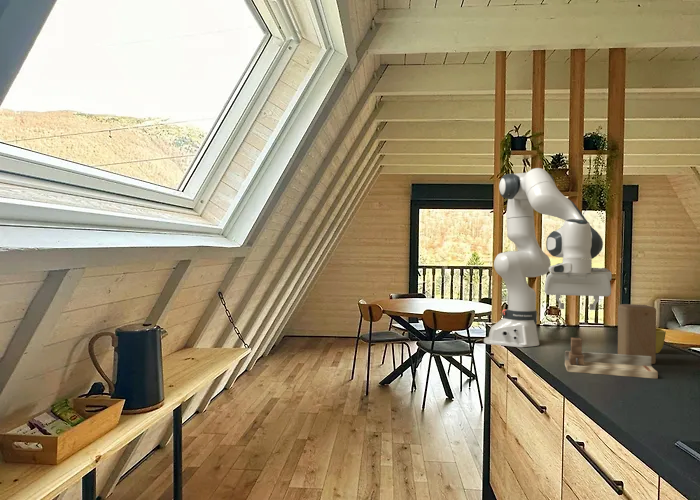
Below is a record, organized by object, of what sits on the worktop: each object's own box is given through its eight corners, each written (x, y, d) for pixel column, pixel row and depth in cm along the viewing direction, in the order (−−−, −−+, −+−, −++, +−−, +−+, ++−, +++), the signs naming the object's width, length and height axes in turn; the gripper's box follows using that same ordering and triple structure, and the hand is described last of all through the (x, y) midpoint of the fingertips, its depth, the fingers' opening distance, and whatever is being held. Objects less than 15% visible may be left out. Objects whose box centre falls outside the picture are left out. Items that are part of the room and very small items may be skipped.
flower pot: (660, 350, 206) (660, 328, 206) (665, 355, 198) (666, 331, 197) (635, 349, 209) (635, 326, 209) (639, 353, 200) (640, 330, 200)
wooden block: (656, 365, 180) (657, 307, 180) (625, 363, 182) (626, 306, 182) (646, 359, 190) (646, 304, 190) (616, 357, 192) (617, 303, 192)
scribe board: (567, 371, 169) (567, 356, 169) (564, 365, 178) (564, 350, 178) (657, 378, 161) (657, 362, 161) (650, 371, 170) (650, 356, 170)
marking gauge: (570, 364, 169) (570, 340, 169) (568, 360, 176) (568, 336, 176) (583, 365, 168) (584, 341, 168) (581, 361, 175) (581, 337, 174)
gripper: (610, 267, 172) (609, 309, 172) (544, 266, 178) (544, 307, 178) (613, 268, 166) (613, 311, 166) (545, 267, 172) (545, 309, 172)
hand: (576, 309), depth 172 cm, fingers open, 8 cm apart
